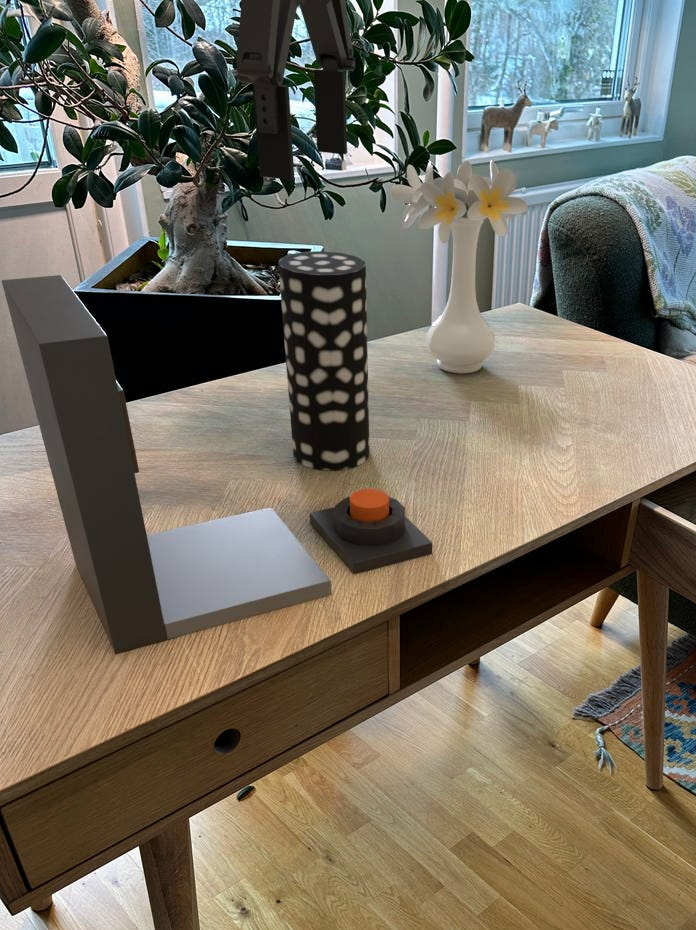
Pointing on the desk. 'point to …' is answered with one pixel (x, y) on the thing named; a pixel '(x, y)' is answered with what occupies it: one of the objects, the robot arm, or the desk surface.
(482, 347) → the flower vase
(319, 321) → the white-spotted black cylinder
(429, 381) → the desk surface
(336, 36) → the robot arm
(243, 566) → the grey l-shaped bookend
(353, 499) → the button
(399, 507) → the pad
